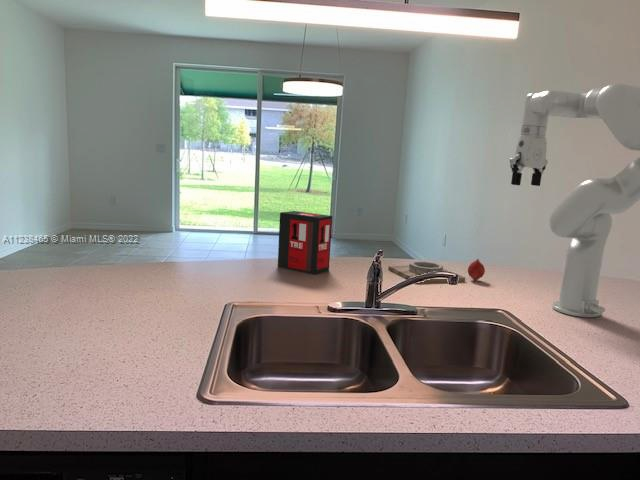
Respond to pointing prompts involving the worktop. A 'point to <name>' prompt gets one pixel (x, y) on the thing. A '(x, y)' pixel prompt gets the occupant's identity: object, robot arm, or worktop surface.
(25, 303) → the worktop surface
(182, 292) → the worktop surface
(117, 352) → the worktop surface
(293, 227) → the cleaning product box
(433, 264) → the cradle
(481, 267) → the onion
